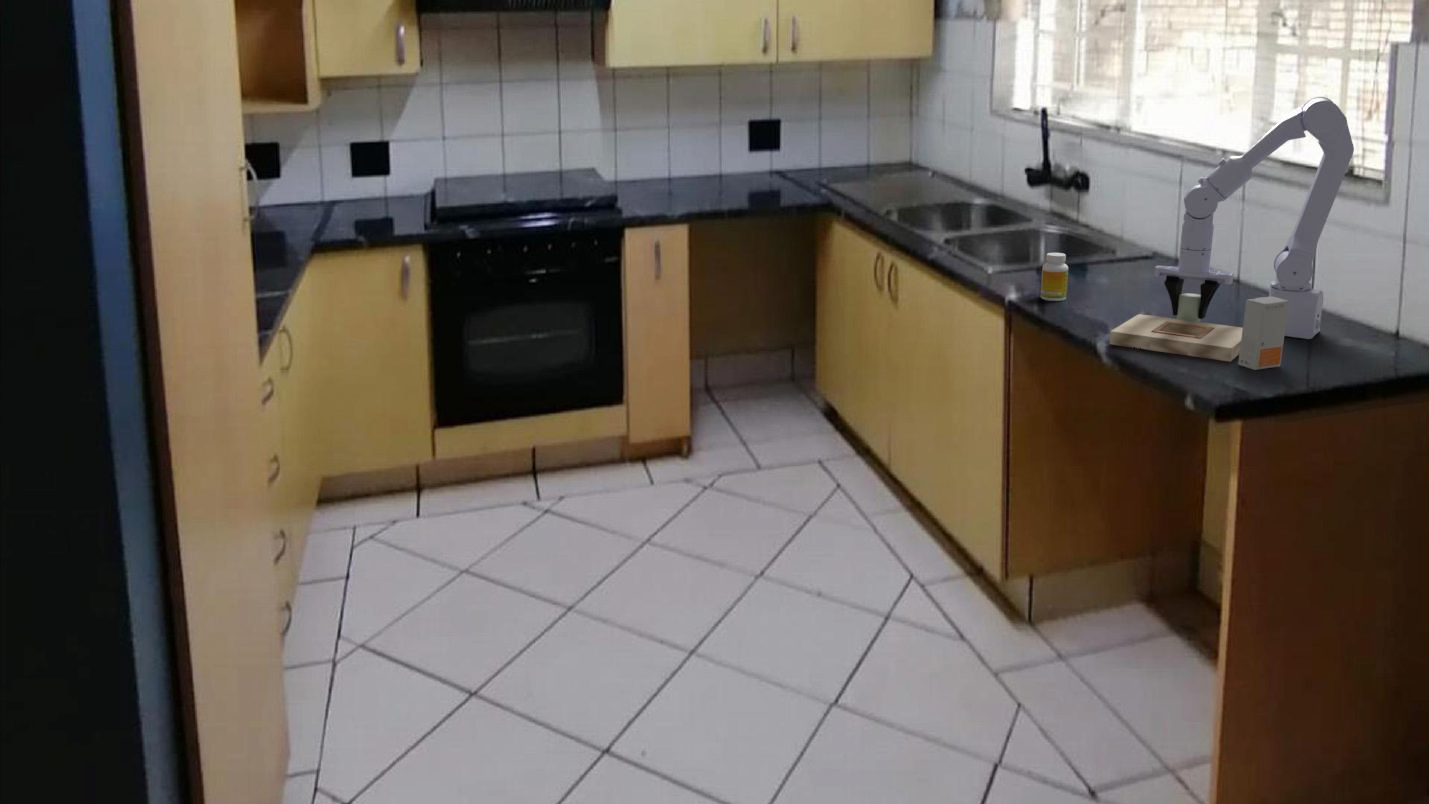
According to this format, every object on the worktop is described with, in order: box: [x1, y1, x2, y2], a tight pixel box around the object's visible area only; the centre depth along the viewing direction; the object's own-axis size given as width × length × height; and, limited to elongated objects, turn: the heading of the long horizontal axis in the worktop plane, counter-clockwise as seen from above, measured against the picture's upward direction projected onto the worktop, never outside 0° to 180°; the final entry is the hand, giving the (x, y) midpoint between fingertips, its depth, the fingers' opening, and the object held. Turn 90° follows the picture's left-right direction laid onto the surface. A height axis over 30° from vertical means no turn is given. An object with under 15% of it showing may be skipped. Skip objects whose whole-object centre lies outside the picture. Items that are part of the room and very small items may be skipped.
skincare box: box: [1237, 296, 1289, 371], centre depth 228 cm, size 6×4×12 cm
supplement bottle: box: [1040, 252, 1069, 302], centre depth 279 cm, size 5×5×10 cm
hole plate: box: [1109, 313, 1243, 362], centre depth 244 cm, size 22×16×3 cm
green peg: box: [1176, 292, 1202, 322], centre depth 256 cm, size 4×4×6 cm
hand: (1188, 316), depth 257 cm, fingers closed on green peg, 4 cm apart
